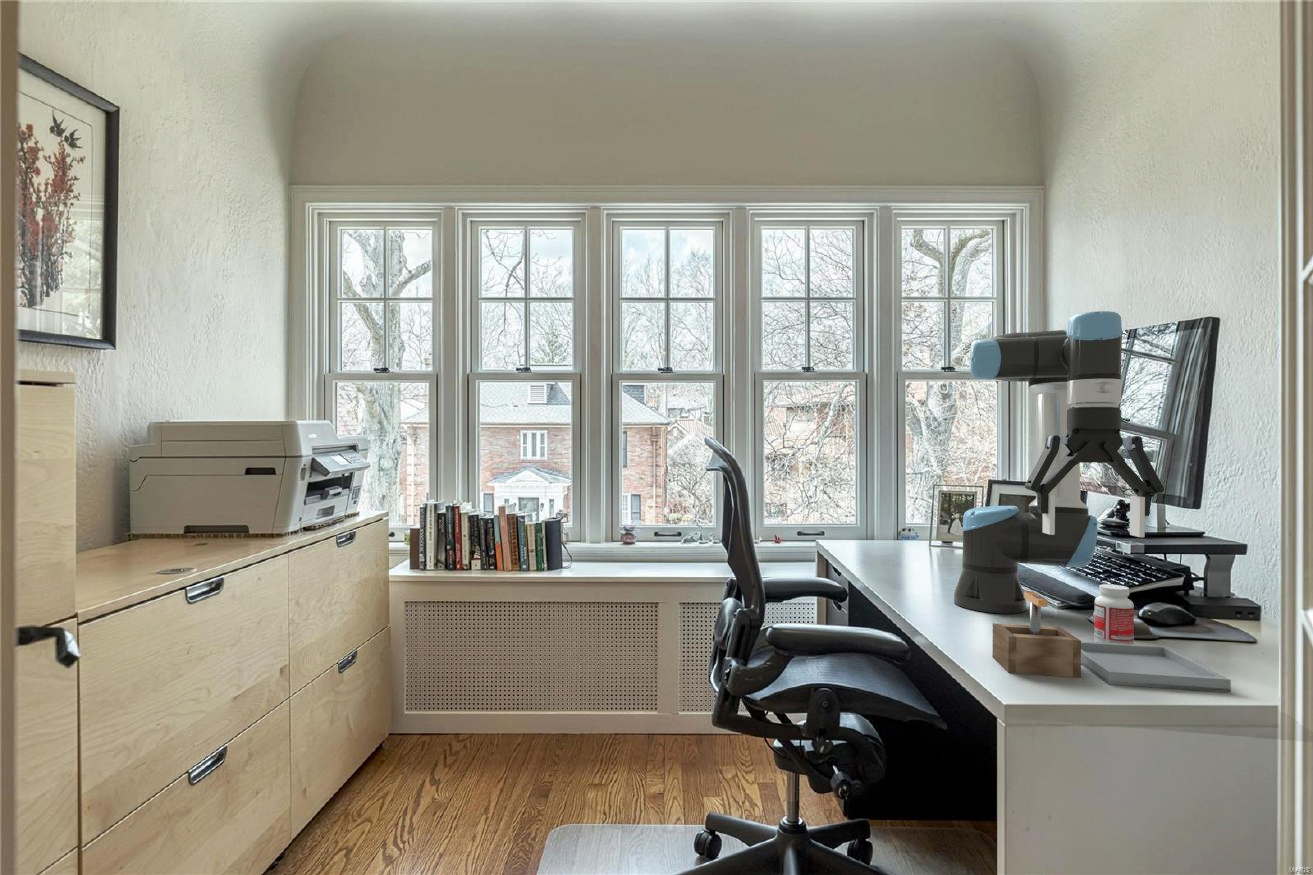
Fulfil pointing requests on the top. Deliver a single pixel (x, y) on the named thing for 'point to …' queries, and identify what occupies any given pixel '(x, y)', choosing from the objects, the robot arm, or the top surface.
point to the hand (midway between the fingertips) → (1092, 535)
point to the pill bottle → (1114, 615)
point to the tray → (1149, 667)
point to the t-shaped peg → (1035, 610)
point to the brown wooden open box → (1037, 650)
